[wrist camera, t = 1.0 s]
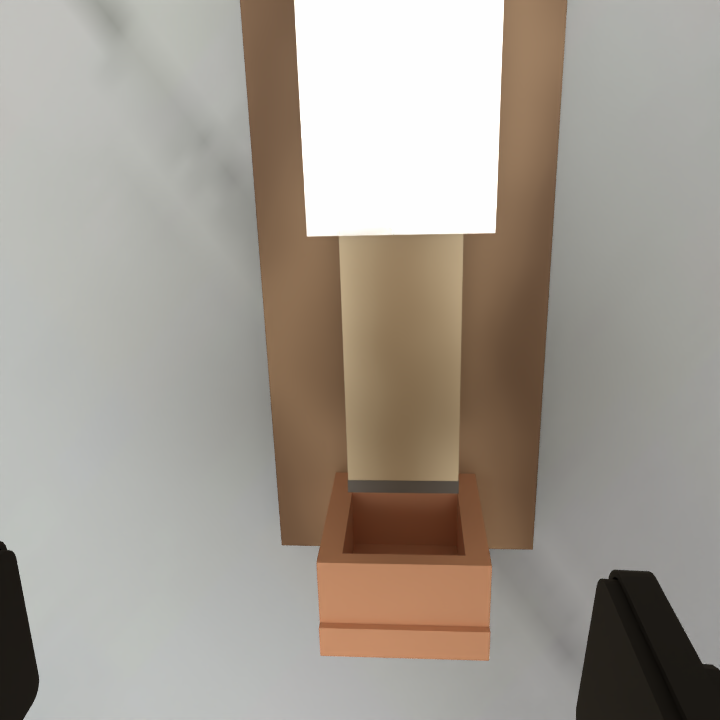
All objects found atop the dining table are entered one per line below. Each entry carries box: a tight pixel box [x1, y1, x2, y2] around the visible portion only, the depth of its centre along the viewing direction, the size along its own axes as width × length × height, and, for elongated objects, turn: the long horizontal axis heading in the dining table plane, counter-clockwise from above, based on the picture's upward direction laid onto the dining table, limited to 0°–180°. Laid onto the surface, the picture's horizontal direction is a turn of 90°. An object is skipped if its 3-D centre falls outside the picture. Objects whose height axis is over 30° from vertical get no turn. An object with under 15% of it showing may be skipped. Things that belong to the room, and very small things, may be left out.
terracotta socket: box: [317, 472, 492, 661], centre depth 29 cm, size 6×4×7 cm, turn 92°
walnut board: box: [240, 0, 567, 549], centre depth 29 cm, size 12×26×2 cm, turn 2°
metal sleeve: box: [294, 0, 504, 236], centre depth 23 cm, size 6×9×7 cm, turn 2°
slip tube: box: [339, 234, 463, 494], centre depth 24 cm, size 4×18×4 cm, turn 2°
